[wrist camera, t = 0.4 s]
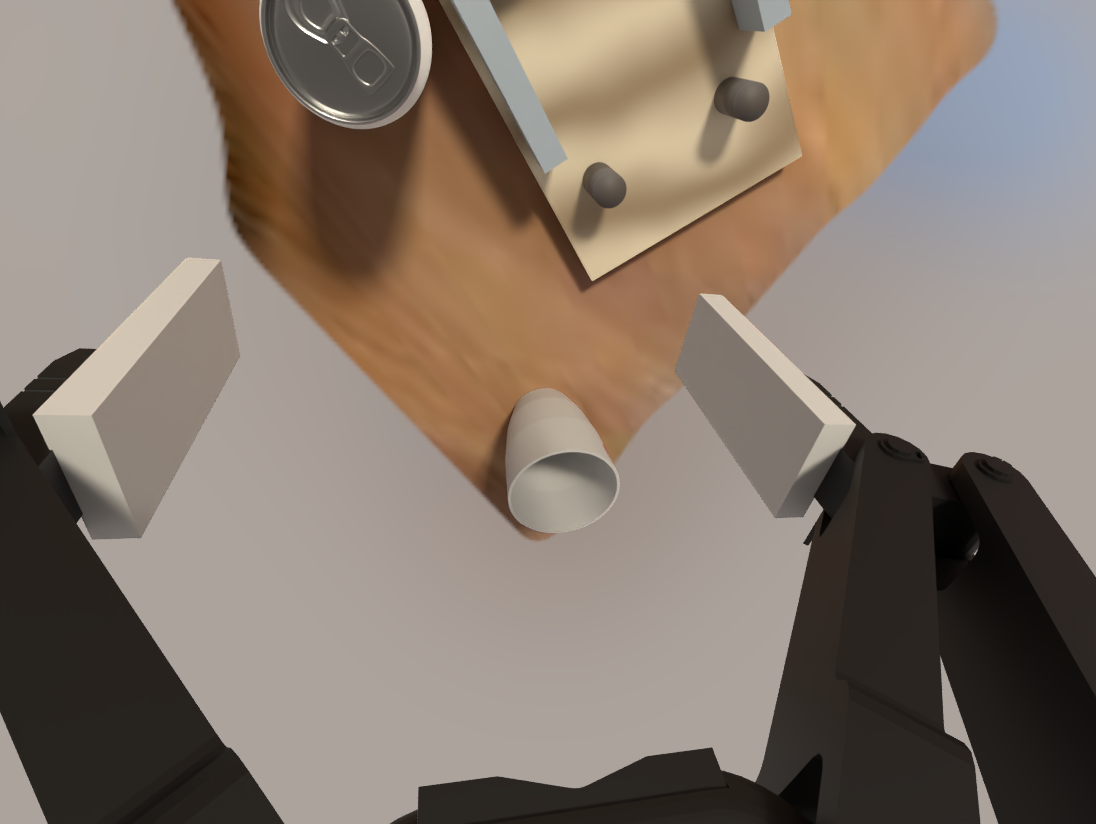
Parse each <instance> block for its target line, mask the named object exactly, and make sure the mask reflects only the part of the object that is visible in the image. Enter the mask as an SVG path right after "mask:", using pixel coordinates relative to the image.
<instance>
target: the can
mask: <svg viewBox="0 0 1096 824" xmlns="http://www.w3.org/2000/svg"><path fill="white" fill-rule="evenodd" d="M259 16H260V27H261V33H262V38H263V42H264V45H265V48H266V51H267V54H268V56H269V59H270V61H271V63H272V65H273V67H274V69H275V71H276V73H277V75H278V76H279V78H280V79H281V81H282V82H283V84H284V85H285V86H286V88H287V89H288V90H289V91H290V93H291V94H292V95H293V96H294V97H295V98H296V99H297V100H298V101H299V102H300V103H301V104H302V105H303V106H305V107H306V108H307V109H308V110H310V111H311V112H313V113H314V114H316V115H317V116H319V117H321V118H322V119H324V120H326V121H328V122H331V123H333V124H336V125H339V126H342V127H347V128H353V129H372V128H377V127H381V126H384V125H387V124H389V123H391V122H394V121H395V120H397V119H399V118H400V117H402V116H403V115H404V114H405V113H406V112H408V111H409V110H410V109H411V107H412V106H413V105H414V104H415V103H416V101H417V100H418V98H419V97H420V95H421V93H422V91H423V89H424V87H425V84H426V82H427V79H428V75H429V71H430V66H431V58H432V37H431V29H430V23H429V19H428V16H427V12H426V9H425V7H424V4H423V2H422V0H260V7H259Z"/></svg>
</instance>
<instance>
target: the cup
mask: <svg viewBox="0 0 1096 824" xmlns="http://www.w3.org/2000/svg"><path fill="white" fill-rule="evenodd" d="M505 466H506V480H507V494H508V505H509V508H510V511H511V513H512V514H513V516H514V517H515V518H516V520H517V521H519V522H520V523H521V524H522V525H524V526H526V527H528V528H530V529H532V530H535V531H539V532H545V533H563V532H569V531H574V530H577V529H580V528H582V527H585V526H587V525H589V524H591V523H593V522H594V521H596V520H598V519H599V518H600V517H602V516H603V515H604V514H605V513H606V512H607V511H608V510H609V509H610V508H611V506H612V505H613V504H614V502H615V500H616V498H617V496H618V493H619V488H620V480H619V475H618V473H617V471H616V469H615V467H614V465H613V463H612V461H611V459H610V457H609V455H608V453H607V451H606V449H605V447H604V445H603V443H602V441H601V439H600V437H599V435H598V433H597V432H596V430H595V429H594V428H593V426H592V425H591V423H590V422H589V421H588V419H587V418H586V417H585V415H584V414H583V412H582V411H581V410H580V408H579V407H578V406H576V405H575V404H574V403H573V402H572V401H571V400H570V399H569V398H567V397H566V396H565V395H564V394H563V393H561V392H559V391H557V390H555V389H550V388H541V389H536V390H533V391H530V392H528V393H527V394H525V395H524V396H522V397H521V398H520V399H519V401H518V402H517V403H516V405H515V407H514V410H513V414H512V417H511V420H510V423H509V426H508V432H507V444H506V456H505Z"/></svg>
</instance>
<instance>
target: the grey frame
mask: <svg viewBox="0 0 1096 824" xmlns="http://www.w3.org/2000/svg"><path fill="white" fill-rule="evenodd" d="M451 2H452V4H453V6H454V8H455V10H456V12H457V13H458V15H459V17H460V19H461V21H462V23H463V25H464V27H465V28H466V30H467V32H468V34H469V36H470V38H471V40H472V42H473V43H474V45H475V47H476V49H477V51H478V53H479V55H480V57H481V58H482V60H483V62H484V64H485V66H486V68H487V70H488V72H489V73H490V75H491V77H492V79H493V81H494V83H495V85H496V87H497V88H498V90H499V92H500V94H501V96H502V98H503V100H504V102H505V103H506V105H507V107H508V109H509V111H510V113H511V115H512V117H513V118H514V120H515V122H516V124H517V126H518V128H519V130H520V132H521V133H522V135H523V137H524V139H525V141H526V143H527V145H528V147H529V148H530V150H531V152H532V154H533V156H534V158H535V160H536V162H537V163H538V165H539V166H540V167H541V169H542V170H543V171H544V173H547V172H548V171H550V170H551V169H553V168H554V167H556V166H558V165H559V164H561V163H562V162H564V161H565V160H567V159H568V158H567V156H566V154H565V152H564V150H563V148H562V146H561V144H560V142H559V140H558V138H557V136H556V134H555V132H554V130H553V128H552V126H551V124H550V122H549V120H548V118H547V116H546V114H545V112H544V110H543V108H542V106H541V104H540V102H539V100H538V98H537V95H536V93H535V91H534V89H533V87H532V85H531V83H530V81H529V79H528V77H527V75H526V73H525V71H524V69H523V67H522V65H521V63H520V61H519V59H518V57H517V55H516V53H515V51H514V49H513V47H512V45H511V43H510V41H509V39H508V37H507V35H506V33H505V31H504V29H503V27H502V25H501V23H500V21H499V19H498V17H497V15H496V13H495V11H494V9H493V7H492V5H491V3H490V1H489V0H451ZM732 4H733V8H734V12H735V16H736V20H737V23H738V27H739V30H742V31H760V32H765V31H767V30H768V29H770V28H772V27H773V26H775V25H776V24H778V23H779V22H781V21H782V20H784V19H786V18H787V17H789V16H790V15H791V10H790V5H789V0H732Z"/></svg>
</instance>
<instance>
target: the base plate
mask: <svg viewBox="0 0 1096 824" xmlns="http://www.w3.org/2000/svg"><path fill="white" fill-rule="evenodd" d="M489 1H490V3H491V5H492V7H493V9H494V11H495V13H496V15H497V17H498V19H499V21H500V23H501V25H502V27H503V29H504V31H505V33H506V35H507V37H508V39H509V41H510V43H511V45H512V47H513V49H514V51H515V53H516V55H517V57H518V59H519V61H520V63H521V65H522V67H523V69H524V71H525V73H526V75H527V77H528V79H529V81H530V83H531V85H532V87H533V89H534V91H535V93H536V95H537V98H538V100H539V102H540V104H541V106H542V108H543V110H544V112H545V114H546V116H547V118H548V120H549V122H550V124H551V126H552V128H553V130H554V132H555V134H556V136H557V138H558V140H559V142H560V144H561V146H562V148H563V150H564V152H565V154H566V156H567V158H568V159H567V160H565V161H564V162H562V163H561V164H559V165H558V166H556V167H554V168H553V169H551V170H550V171H548V172H547V173H544V171H543V170H542V169H541V167H540V166H539V165H538V163H537V162H536V160H535V158H534V156H533V154H532V152H531V150H530V148H529V147H528V145H527V143H526V141H525V139H524V137H523V135H522V133H521V132H520V130H519V128H518V126H517V124H516V122H515V120H514V118H513V117H512V115H511V113H510V111H509V109H508V107H507V105H506V103H505V102H504V100H503V98H502V96H501V94H500V92H499V90H498V88H497V87H496V85H495V83H494V81H493V79H492V77H491V75H490V73H489V72H488V70H487V68H486V66H485V64H484V62H483V60H482V58H481V57H480V55H479V53H478V51H477V49H476V47H475V45H474V43H473V42H472V40H471V38H470V36H469V34H468V32H467V30H466V28H465V27H464V25H463V23H462V21H461V19H460V17H459V15H458V13H457V12H456V10H455V8H454V6H453V4H452V2H451V0H439V2H440V4H441V6H442V8H443V10H444V11H445V13H446V15H447V17H448V19H449V21H450V22H451V24H452V26H453V28H454V30H455V32H456V33H457V35H458V37H459V39H460V41H461V43H462V44H463V46H464V48H465V50H466V52H467V54H468V55H469V57H470V59H471V61H472V63H473V65H474V66H475V68H476V70H477V72H478V74H479V76H480V77H481V79H482V81H483V83H484V85H485V87H486V89H487V90H488V92H489V94H490V96H491V98H492V100H493V101H494V103H495V105H496V107H497V109H498V111H499V112H500V114H501V116H502V118H503V120H504V122H505V123H506V125H507V127H508V129H509V131H510V133H511V134H512V136H513V138H514V140H515V142H516V144H517V145H518V147H519V149H520V151H521V153H522V155H523V156H524V158H525V160H526V162H527V164H528V166H529V167H530V169H531V171H532V173H533V175H534V177H535V178H536V180H537V182H538V184H539V186H540V188H541V189H542V191H543V193H544V195H545V197H546V199H547V200H548V202H549V204H550V206H551V208H552V210H553V211H554V213H555V215H556V217H557V219H558V221H559V222H560V224H561V226H562V228H563V230H564V232H565V233H566V235H567V237H568V239H569V241H570V243H571V244H572V246H573V248H574V250H575V252H576V254H577V255H578V257H579V259H580V261H581V263H582V265H583V266H584V268H585V270H586V272H587V274H588V275H589V277H590V279H591V280H592V281H594V280H595V279H597V278H599V277H600V276H602V275H604V274H605V273H607V272H609V271H610V270H612V269H614V268H615V267H617V266H619V265H620V264H622V263H624V262H626V261H627V260H629V259H631V258H632V257H634V256H636V255H637V254H639V253H641V252H642V251H644V250H646V249H647V248H649V247H651V246H652V245H654V244H656V243H657V242H659V241H661V240H662V239H664V238H666V237H667V236H669V235H671V234H672V233H674V232H676V231H677V230H679V229H681V228H682V227H684V226H686V225H687V224H689V223H691V222H692V221H694V220H696V219H698V218H699V217H701V216H703V215H704V214H706V213H708V212H709V211H711V210H713V209H714V208H716V207H718V206H719V205H721V204H723V203H724V202H726V201H728V200H729V199H731V198H733V197H734V196H736V195H738V194H739V193H741V192H743V191H744V190H746V189H748V188H749V187H751V186H753V185H754V184H756V183H758V182H759V181H761V180H763V179H764V178H766V177H768V176H770V175H771V174H773V173H775V172H776V171H778V170H780V169H781V168H783V167H785V166H786V165H788V164H790V163H791V162H793V161H795V160H796V159H798V158H800V157H801V156H802V153H801V148H800V144H799V139H798V135H797V130H796V126H795V122H794V117H793V113H792V108H791V104H790V99H789V95H788V90H787V86H786V82H785V77H784V73H783V68H782V64H781V59H780V55H779V51H778V46H777V42H776V37H775V33H774V28H773V27H772V28H770V29H768V30H767V31H765V32H760V31H742V30H739V27H738V23H737V20H736V16H735V12H734V8H733V4H732V0H489Z"/></svg>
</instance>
